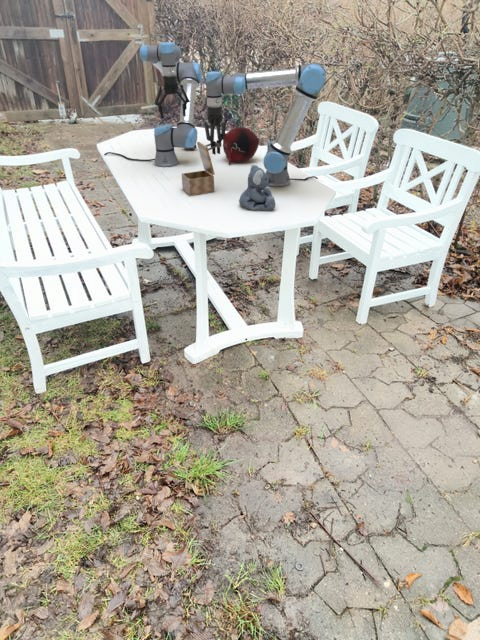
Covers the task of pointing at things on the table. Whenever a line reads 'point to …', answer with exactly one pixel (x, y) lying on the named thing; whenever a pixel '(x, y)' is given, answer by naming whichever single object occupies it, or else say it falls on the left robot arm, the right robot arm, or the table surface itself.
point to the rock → (191, 148)
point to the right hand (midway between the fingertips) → (216, 153)
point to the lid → (206, 156)
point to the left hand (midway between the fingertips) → (173, 117)
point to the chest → (198, 182)
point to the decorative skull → (240, 144)
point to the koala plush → (257, 191)
